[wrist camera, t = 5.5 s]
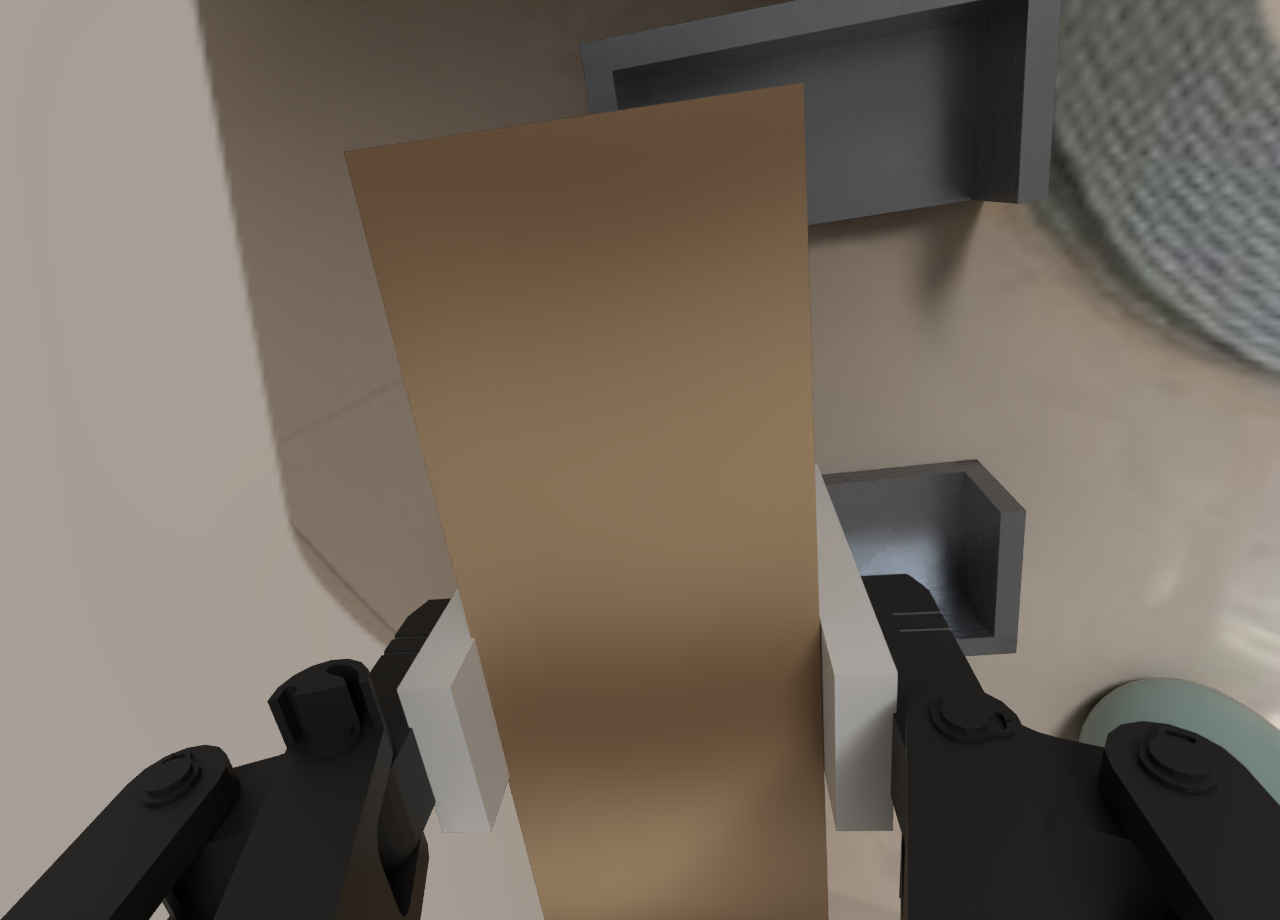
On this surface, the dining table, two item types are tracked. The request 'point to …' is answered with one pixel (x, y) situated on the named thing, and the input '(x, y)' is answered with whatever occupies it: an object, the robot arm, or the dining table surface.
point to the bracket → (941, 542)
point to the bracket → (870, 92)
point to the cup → (1192, 721)
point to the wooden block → (627, 485)
